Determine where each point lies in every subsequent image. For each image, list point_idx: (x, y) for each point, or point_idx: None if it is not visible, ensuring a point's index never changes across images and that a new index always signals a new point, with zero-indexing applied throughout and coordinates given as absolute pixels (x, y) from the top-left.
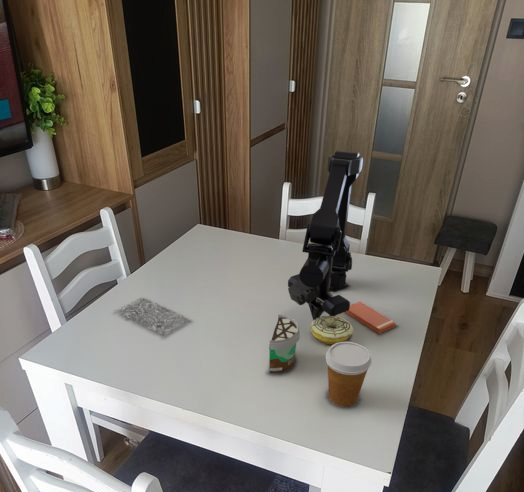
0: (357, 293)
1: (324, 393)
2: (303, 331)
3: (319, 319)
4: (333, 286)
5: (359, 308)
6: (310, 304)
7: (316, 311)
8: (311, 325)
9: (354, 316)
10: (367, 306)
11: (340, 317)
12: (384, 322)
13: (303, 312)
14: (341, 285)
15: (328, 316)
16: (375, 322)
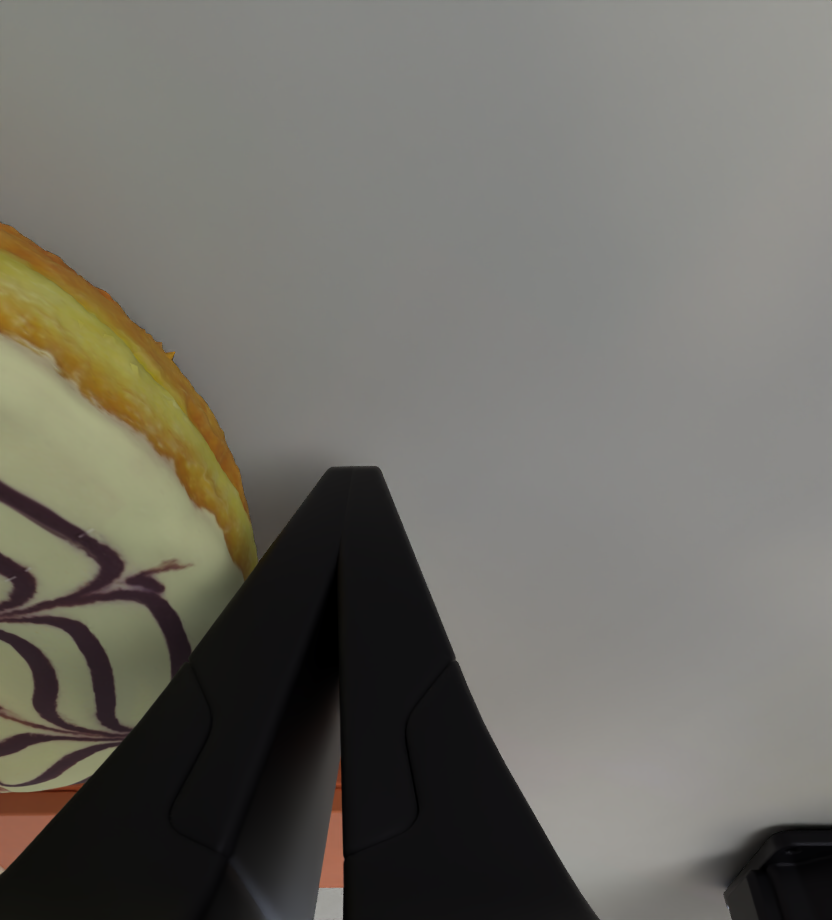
0: (587, 882)
1: None
2: (214, 78)
3: (14, 580)
4: (813, 873)
5: (325, 855)
6: (399, 873)
7: (123, 744)
8: (5, 311)
9: None
10: (320, 886)
11: (20, 791)
12: (11, 862)
13: (782, 476)
14: (747, 913)
15: (109, 717)
16: (26, 837)
